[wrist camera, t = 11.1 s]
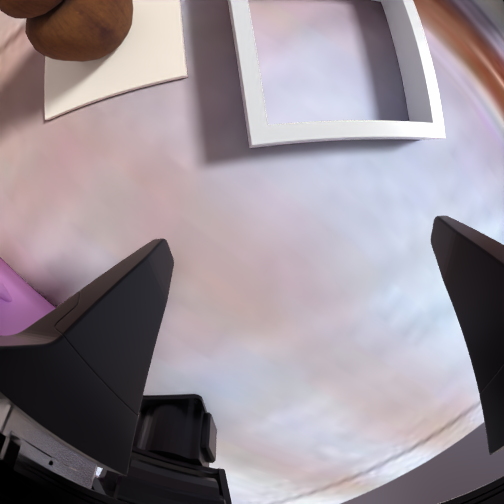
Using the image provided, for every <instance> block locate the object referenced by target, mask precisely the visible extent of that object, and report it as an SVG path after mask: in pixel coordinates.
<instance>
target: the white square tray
mask: <svg viewBox="0 0 504 504" xmlns="http://www.w3.org/2000/svg"><path fill="white" fill-rule="evenodd" d="M373 1H379V2H381V3H382V6H383V9H384V12H385V15H386V18H387V22H388V25H389V28H390V32H391V35H392V39H393V43H394V46H395V50H396V54H397V58H398V63H399V67H400V72H401V76H402V81H403V86H404V92H405V97H406V103H407V109H408V116H409V121H385V120H341V121H315V122H299V123H286V124H275V125H268V121H267V114H266V108H265V101H264V94H263V87H262V81H261V75H260V68H259V62H258V56H257V50H256V44H255V38H254V32H253V26H252V21H251V15H250V9H249V4H248V0H228V5H229V11H230V18H231V25H232V31H233V38H234V45H235V51H236V58H237V65H238V72H239V79H240V86H241V93H242V100H243V107H244V114H245V121H246V128H247V135H248V143H249V148H256V147H265V146H274V145H284V144H295V143H307V142H321V141H339V140H367V139H412V140H426V139H445V129H444V121H443V114H442V108H441V102H440V96H439V91H438V86H437V81H436V76H435V72H434V67H433V63H432V59H431V55H430V51H429V48H428V44H427V41H426V37H425V34H424V31H423V28H422V24H421V21H420V18H419V16H418V13H417V10H416V7H415V4H414V2H413V0H373Z"/></svg>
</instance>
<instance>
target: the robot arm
mask: <svg viewBox="0 0 504 504" xmlns="http://www.w3.org/2000/svg"><path fill="white" fill-rule="evenodd" d="M431 245H432V248H433V251H434V254H435V256H436V259H437V263H438V266H439V269H440V272H441V275H442V278H443V281H444V284H445V286H446V289H447V291H448V294H449V296H450V299H451V302H452V304H453V307H454V310H455V312H456V315H457V318H458V321H459V324H460V326H461V329H462V332H463V336H464V339H465V342H466V345H467V348H468V352H469V355H470V359H471V362H472V366H473V370H474V373H475V377H476V381H477V386H478V390H479V393H480V400H481V405H482V410H483V415H484V421H485V427H486V433H487V441H488V449H489V453H490V455H492V454H494V453H496V452H498V451H500V450H502V449H504V245H503V244H501V243H499V242H497V241H496V240H494V239H492V238H490V237H488V236H486V235H484V234H482V233H480V232H479V231H477V230H475V229H473V228H471V227H469V226H467V225H465V224H463V223H461V222H459V221H457V220H454V219H452V218H450V217H448V216H437V217H435V219H434V223H433V229H432V234H431ZM173 266H174V260H173V256H172V254H171V251H170V248H169V245H168V243H167V241H166V240H165V239H155V240H152V241H151V242H149V243H148V244H146V245H145V246H143V247H142V248H140V249H139V250H137V251H136V252H134V253H133V254H131V255H130V256H128V257H127V258H125V259H124V260H122V261H121V262H120V263H118V264H117V265H115V266H114V267H112V268H111V269H109V270H108V271H107V272H105V273H104V274H102V275H101V276H100V277H98V278H97V279H95V280H94V281H92V282H91V283H90V284H88V285H87V286H86V287H84V288H83V289H81V291H79V292H77V293H76V294H75V295H73V296H72V297H70V298H69V299H68V300H66V301H65V302H64V303H62V304H61V305H59V306H58V307H56V308H55V309H54V310H52V311H51V312H49V313H48V314H46V315H45V316H43V317H42V318H41V319H39V320H38V321H36V322H35V323H33V324H32V325H30V326H29V327H28V328H26V329H25V330H23V331H21V332H19V333H17V334H14V335H7V336H3V335H0V504H232V503H231V498H230V493H229V488H228V484H227V479H226V474H225V470H224V469H219V468H218V469H215V468H210V467H209V463H213V462H214V461H215V460H216V434H217V429H216V426H215V424H214V421H213V418H212V415H211V414H210V413H207V410H206V407H205V405H204V402H203V399H202V397H201V396H199V395H184V396H152V397H143V392H144V388H145V384H146V379H147V375H148V371H149V367H150V363H151V359H152V355H153V351H154V347H155V344H156V340H157V336H158V332H159V329H160V325H161V322H162V318H163V314H164V311H165V307H166V304H167V299H168V294H169V288H170V282H171V277H172V271H173ZM196 400H198V401H196ZM139 413H140V414H139ZM138 415H139V417H138ZM97 467H100V468H103V469H102V471H101V473H100V475H99V477H98V478H96V477H95V474H96V470H97ZM438 504H504V476H502V477H500V478H498V479H496V480H494V481H492V482H490V483H488V484H486V485H484V486H481V487H479V488H477V489H475V490H472V491H470V492H468V493H465V494H463V495H460V496H458V497H455V498H452V499H450V500H447V501H444V502H441V503H438Z"/></svg>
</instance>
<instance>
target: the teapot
mask: <svg viewBox="0 0 504 504" xmlns="http://www.w3.org/2000/svg"><path fill="white" fill-rule="evenodd" d="M54 309H55V307H54V306H53V305H52V304H51V303H49V302H48V301H47V300H46V299H45V298H43V297H42V296H41V295H40V294H39V293H38V292H36V291H35V290H34V289H33V288H32V287H31V286H30V285H29V284H28V283H26V282H25V281H24V280H23V279H22V278H21V277H20V276H19V275H18V274H17V273H16V272H15V271H14V270H13V269H12V268H11V267H10V266H9V265H8V264H7V263H6V262H5V261H4V260H3V259H2V258H1V257H0V335H3V336H7V335H14V334H17V333H19V332H21V331H23V330H25V329H26V328H28V327H29V326H30V325H32V324H33V323H35V322H36V321H38V320H39V319H41V318H42V317H43V316H45V315H46V314H48V313H49V312H51V311H52V310H54Z"/></svg>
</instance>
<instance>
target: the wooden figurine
mask: <svg viewBox="0 0 504 504" xmlns="http://www.w3.org/2000/svg"><path fill="white" fill-rule="evenodd" d="M0 10H1V11H2V12H4V13H5V14H7V15H8V16H11V17H14V18H27V19H26V31H25V32H26V34H27V37H28V39H29V41H30V42H31V44H32V45H33V47H34V48H35V49H36V50H37V51H38V52H40V53H41V54H43V55H45V56H47V57H49V58H51V59H55V60H62V61H78V62H84V61H91V60H97V59H101V58H102V57H104V56H106V55H108V54H110V53H112V52H113V51H114V50H115V49H116V48H118V47H119V46H120V45H121V44H122V42H123V41H124V39H125V38H126V36H127V35H128V33H129V30H130V28H131V26H132V18H133V1H132V0H0Z"/></svg>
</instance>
